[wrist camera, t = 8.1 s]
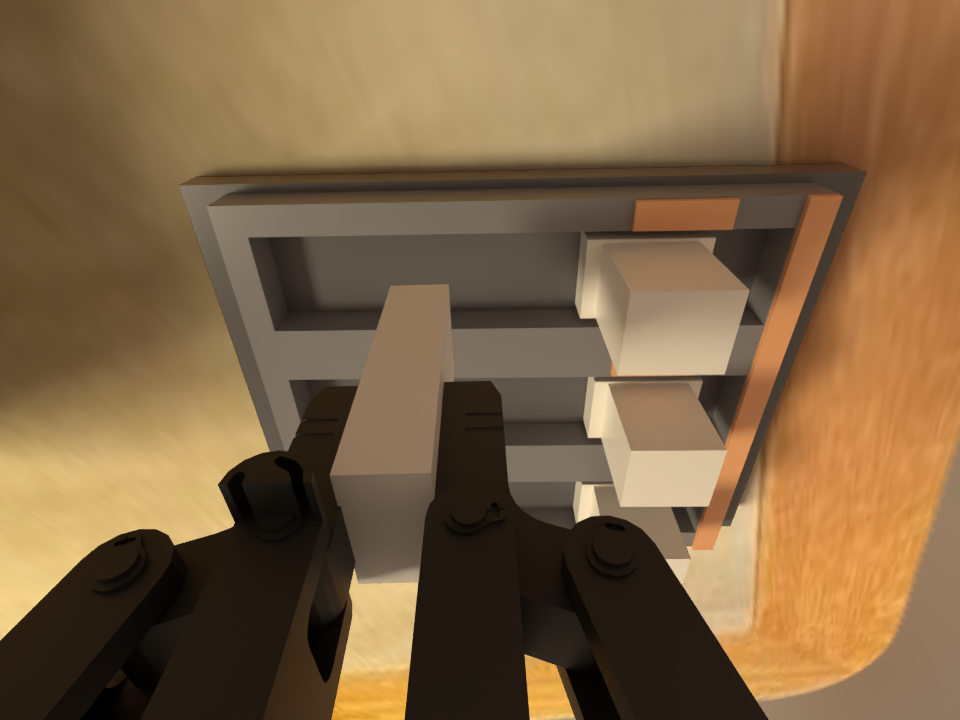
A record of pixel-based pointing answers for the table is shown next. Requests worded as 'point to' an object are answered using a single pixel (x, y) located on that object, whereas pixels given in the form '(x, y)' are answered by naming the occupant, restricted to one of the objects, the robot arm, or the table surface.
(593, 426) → the tab mid
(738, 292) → the tab front
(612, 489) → the tab back
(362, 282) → the slotted block puzzle
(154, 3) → the table surface
